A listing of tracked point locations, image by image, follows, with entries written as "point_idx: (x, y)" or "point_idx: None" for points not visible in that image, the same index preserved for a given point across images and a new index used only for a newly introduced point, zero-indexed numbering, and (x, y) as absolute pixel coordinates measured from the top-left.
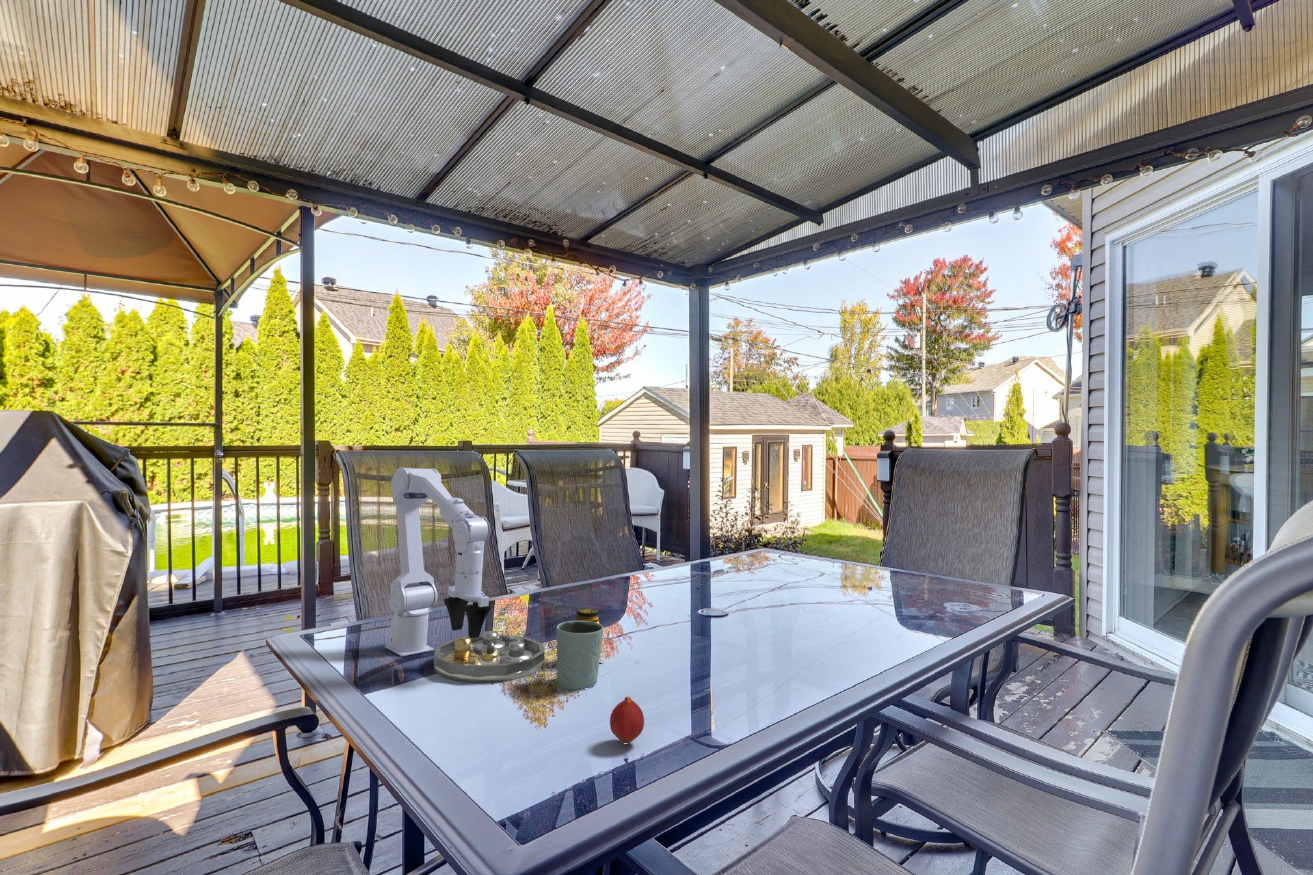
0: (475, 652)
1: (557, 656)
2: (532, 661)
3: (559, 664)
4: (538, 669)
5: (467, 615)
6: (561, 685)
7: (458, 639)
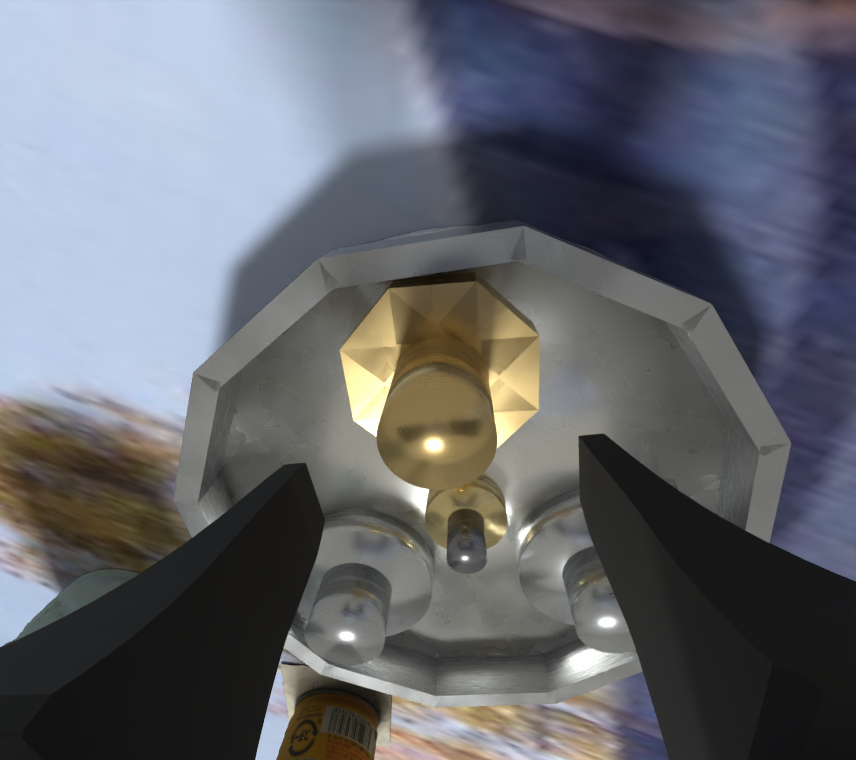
0: None
1: None
2: None
3: None
4: None
5: (148, 605)
6: (95, 573)
7: (435, 408)
